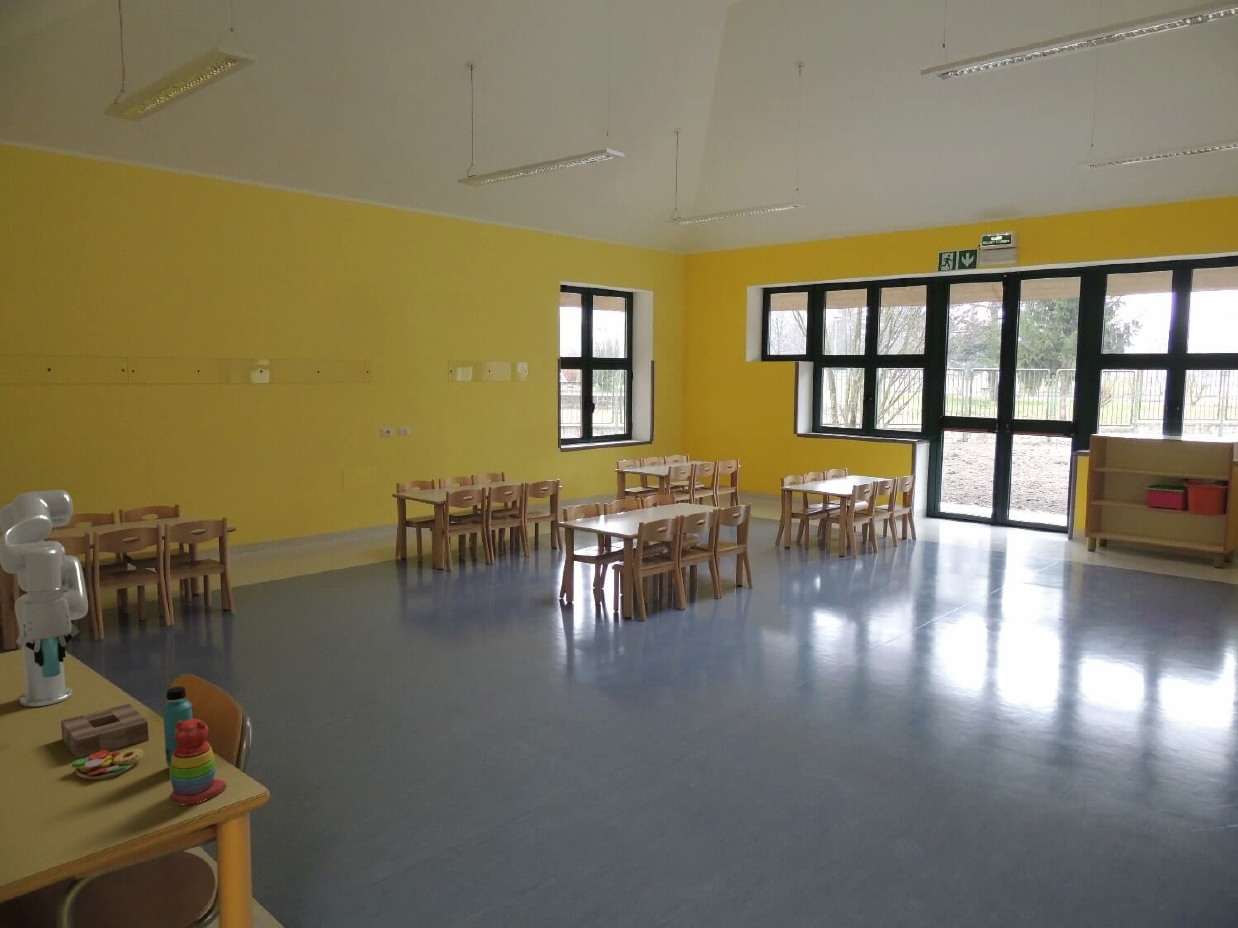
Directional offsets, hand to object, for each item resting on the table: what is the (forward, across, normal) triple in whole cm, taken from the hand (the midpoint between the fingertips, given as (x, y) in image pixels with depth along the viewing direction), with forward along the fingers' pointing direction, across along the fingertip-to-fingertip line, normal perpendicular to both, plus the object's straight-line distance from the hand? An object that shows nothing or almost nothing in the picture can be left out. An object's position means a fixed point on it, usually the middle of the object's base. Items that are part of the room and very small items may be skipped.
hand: (50, 662), depth 228 cm
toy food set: (+19, -4, +33) cm, 39 cm away
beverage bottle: (+19, -17, +45) cm, 52 cm away
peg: (+3, 0, 0) cm, 3 cm away
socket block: (+19, -8, +15) cm, 26 cm away
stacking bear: (+18, -15, +61) cm, 66 cm away
